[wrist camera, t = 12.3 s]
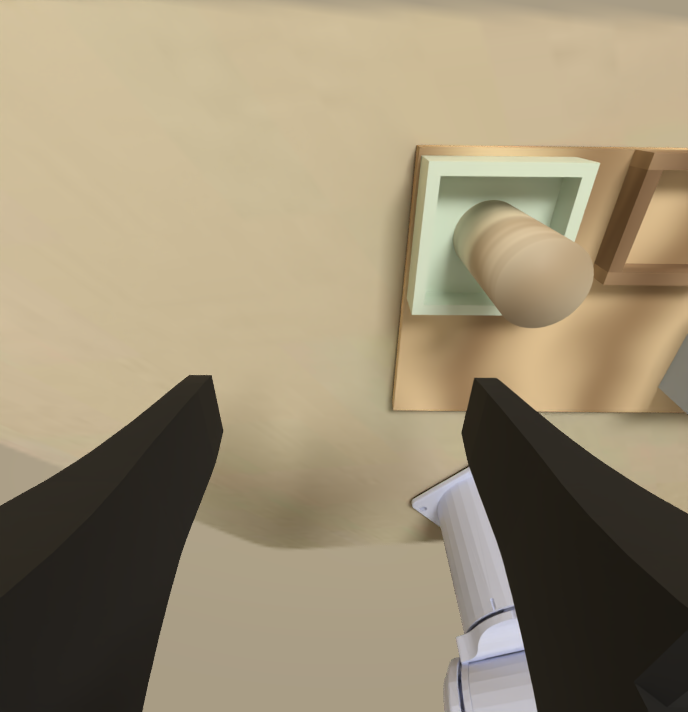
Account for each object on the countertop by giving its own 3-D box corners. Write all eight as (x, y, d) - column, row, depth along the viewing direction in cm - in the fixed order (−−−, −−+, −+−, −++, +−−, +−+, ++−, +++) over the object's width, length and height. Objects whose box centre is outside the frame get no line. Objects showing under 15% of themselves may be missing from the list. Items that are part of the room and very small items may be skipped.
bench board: (1003, 151, 17) (1075, 157, 15) (796, 405, 25) (830, 427, 23) (416, 145, 17) (424, 150, 15) (392, 401, 24) (395, 423, 23)
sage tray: (576, 156, 16) (600, 163, 15) (534, 299, 20) (550, 315, 18) (421, 155, 16) (429, 161, 15) (406, 298, 20) (411, 314, 18)
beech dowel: (535, 235, 18) (611, 286, 13) (479, 280, 19) (527, 344, 14) (496, 184, 17) (562, 217, 11) (439, 235, 18) (476, 286, 13)
